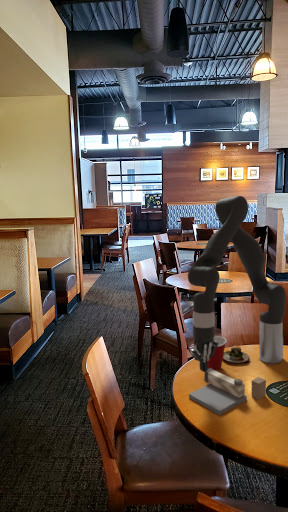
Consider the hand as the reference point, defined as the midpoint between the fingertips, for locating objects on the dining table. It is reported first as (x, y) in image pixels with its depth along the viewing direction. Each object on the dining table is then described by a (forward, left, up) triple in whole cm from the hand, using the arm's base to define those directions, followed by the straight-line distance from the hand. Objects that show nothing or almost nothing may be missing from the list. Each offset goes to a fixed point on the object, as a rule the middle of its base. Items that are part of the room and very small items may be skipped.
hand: (203, 370), depth 126 cm
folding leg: (-7, +3, -8) cm, 11 cm away
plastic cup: (-19, -13, -10) cm, 25 cm away
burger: (-32, -12, -10) cm, 36 cm away
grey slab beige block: (-6, +6, -10) cm, 12 cm away
